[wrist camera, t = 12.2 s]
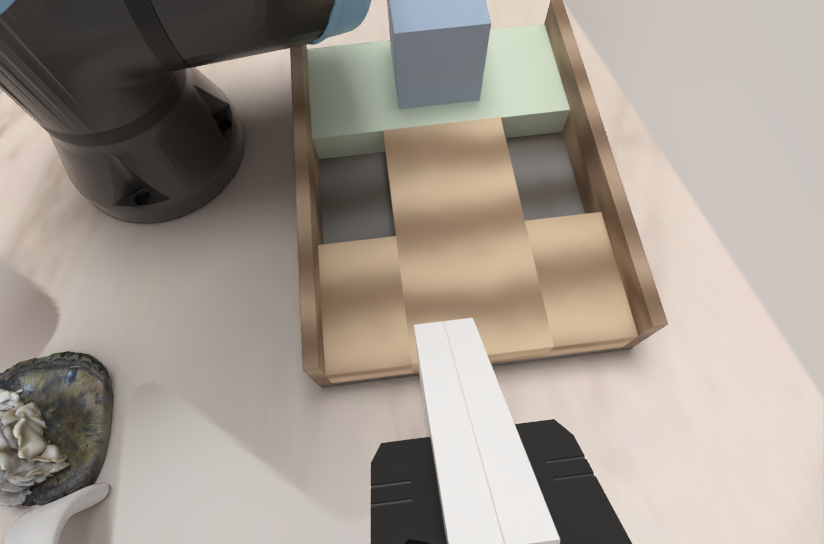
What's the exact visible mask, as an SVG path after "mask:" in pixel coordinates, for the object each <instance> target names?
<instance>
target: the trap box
mask: <svg viewBox="0 0 824 544" xmlns="http://www.w3.org/2000/svg"><path fill="white" fill-rule="evenodd" d="M545 27H546V31H547V34H548V37H549V41H550V44H551V47H552V51H553V54H554V57H555V61H556V64H557V67H558V71H559V74H560V77H561V81H562V84H563V87H564V91H565V94H566V97H567V101H568V104H569V107H570V112H569V114H568V117H567V119H566V122H565V124H564V127H563V130H562V132H556V133H547V134H538V135H529V136H520V137H512V138H505V134H504V130H503V125H502V121H501V117H498V118H489V119H480V120H471V121H462V122H453V123H444V124H435V125H426V126H417V127H408V128H399V129H390V130H383V134H384V143H385V151H386V152H378V153H370V154H361V155H352V156H343V157H334V158H325V159H318V156H317V153H316V150H315V146H314V143H313V140H312V129H311V112H310V94H309V76H308V58H307V47H306V45H302V46H297V47H292V48H290V56H291V81H292V106H293V132H294V157H295V182H296V207H297V232H298V258H299V283H300V308H301V333H302V358H303V370H304V371H305V372H306V373H307V374H308V375H309V376H310V377H311V378H312V379H313V380H314V381H315V382H316V383H317V384H318V385H319V386H320V387H328V386H336V385H344V384H352V383H360V382H368V381H376V380H384V379H392V378H400V377H408V376H416V375H419V366H418V357H417V348H416V339H415V330H414V325H416V324H425V323H433V322H441V321H449V320H457V319H465V318H473V320H474V322H475V325H476V327H477V330H478V332H479V335H480V338H481V340H482V343H483V345H484V348H485V350H486V353H487V355H488V358H489V360H490V363H491V365H492V366H496V365H504V364H512V363H520V362H528V361H536V360H544V359H552V358H560V357H568V356H576V355H584V354H592V353H600V352H608V351H616V350H624V349H631V348H633V347H634V346H636V345H637V344H639V343H640V342H642V341H643V340H645V339H646V338H648V337H649V336H651V335H652V334H654V333H655V332H657V331H658V330H660V329H661V328H663V327H664V326H666V325H667V324H668V322H667V319H666V316H665V313H664V310H663V307H662V304H661V301H660V298H659V295H658V292H657V289H656V286H655V282H654V279H653V276H652V273H651V270H650V267H649V264H648V261H647V258H646V255H645V252H644V249H643V246H642V243H641V240H640V236H639V233H638V230H637V227H636V224H635V221H634V218H633V215H632V212H631V209H630V206H629V203H628V200H627V197H626V194H625V190H624V187H623V184H622V181H621V178H620V175H619V172H618V169H617V166H616V163H615V160H614V157H613V154H612V151H611V148H610V144H609V141H608V138H607V135H606V132H605V129H604V126H603V123H602V120H601V117H600V114H599V111H598V108H597V105H596V102H595V98H594V95H593V92H592V89H591V86H590V83H589V80H588V77H587V74H586V71H585V68H584V65H583V62H582V59H581V56H580V53H579V49H578V46H577V43H576V40H575V37H574V34H573V31H572V28H571V25H570V22H569V19H568V16H567V13H566V10H565V7H564V3H563V0H551V1H550V5H549V8H548V12H547V16H546V20H545Z"/></svg>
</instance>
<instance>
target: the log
mask: <svg viewBox="0 0 824 544" xmlns="http://www.w3.org/2000/svg"><path fill="white" fill-rule="evenodd" d="M112 406H113V392H112V388H111V383H110V379H109V378H108V376H107V371H106V369H105V368H104V366H103V364H102V363H101V362H99V361H98V360H97V359H96V358H94V357H93V356H91V355H89V354H82V353H75V352H69V351H67V352H62V353H54V354H52V355H50V356H48V357H42V358H39V359H37V358H33V359H30V360H27V361H23V362H19V363H17V364H16V365H14V366H12V367H11V368H10V369H7V370H6V371H5V372H4V373H1V374H0V505H3V506H9V507H11V506H16V505H20V504H22V505H23V506H33V505H36V504H37V505H42V506H43V505H45V504H48V503H50V502H53V501H56V500H58V499H60V498H63V497H65V496H67V495H69V494H72V493H74V492H76V491H78V490H80V489H83V488H85V487H87V486H90V485H93V484H94V483H95V481H96V479H97V477H98V475H99V473H100V470H101V468H102V465H103V463H104V459H105V455H106V451H107V447H108V441H109V435H110V429H111V418H112Z"/></svg>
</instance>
